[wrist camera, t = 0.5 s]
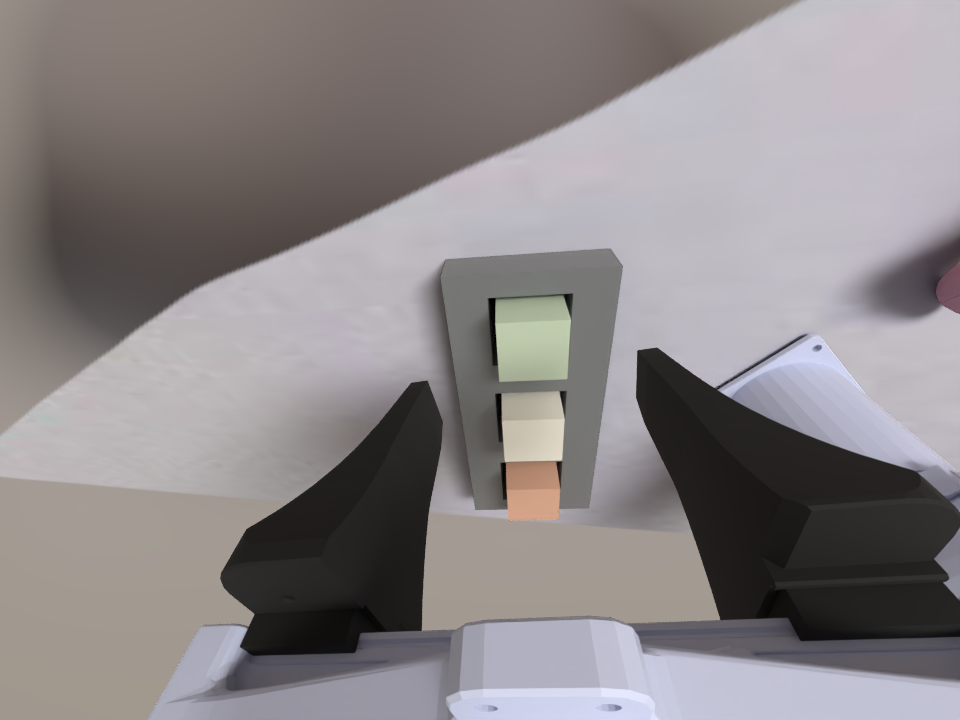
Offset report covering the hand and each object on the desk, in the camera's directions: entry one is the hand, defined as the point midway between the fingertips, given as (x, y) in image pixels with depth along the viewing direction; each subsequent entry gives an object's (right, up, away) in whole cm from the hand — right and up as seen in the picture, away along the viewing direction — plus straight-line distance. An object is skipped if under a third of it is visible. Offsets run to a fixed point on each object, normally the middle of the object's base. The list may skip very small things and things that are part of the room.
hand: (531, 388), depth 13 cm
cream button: (+2, -2, +12) cm, 13 cm away
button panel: (+2, -1, +13) cm, 14 cm away
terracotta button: (+2, -7, +16) cm, 18 cm away
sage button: (+1, +3, +8) cm, 9 cm away
